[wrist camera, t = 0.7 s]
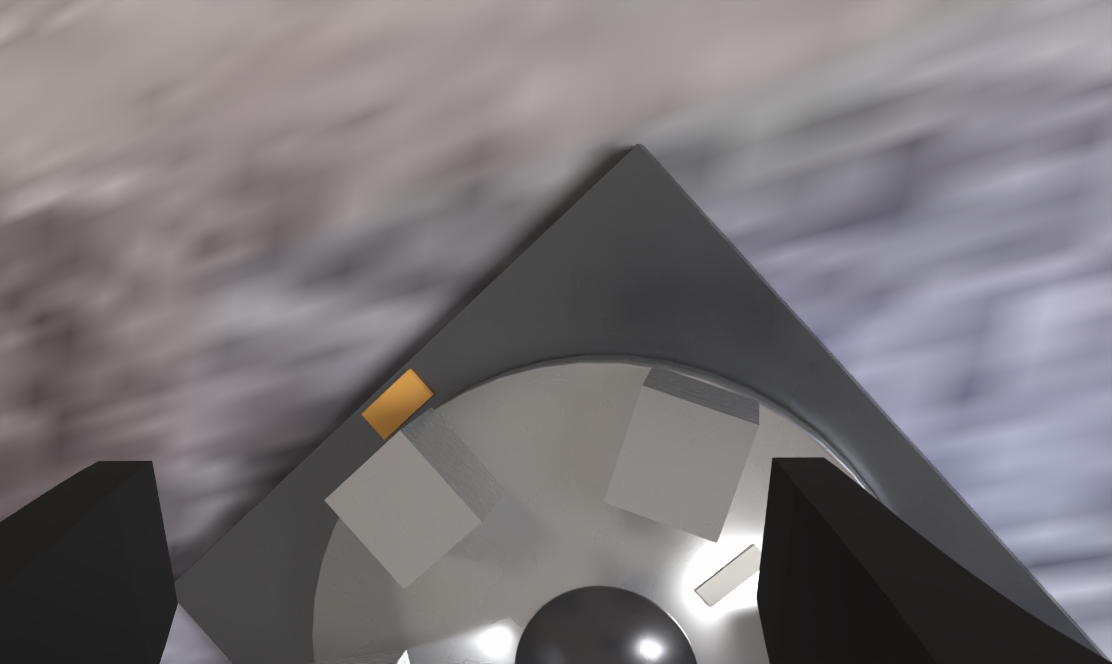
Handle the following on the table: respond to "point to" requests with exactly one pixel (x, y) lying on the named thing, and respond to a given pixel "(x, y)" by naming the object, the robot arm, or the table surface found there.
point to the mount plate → (593, 329)
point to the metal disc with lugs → (562, 522)
